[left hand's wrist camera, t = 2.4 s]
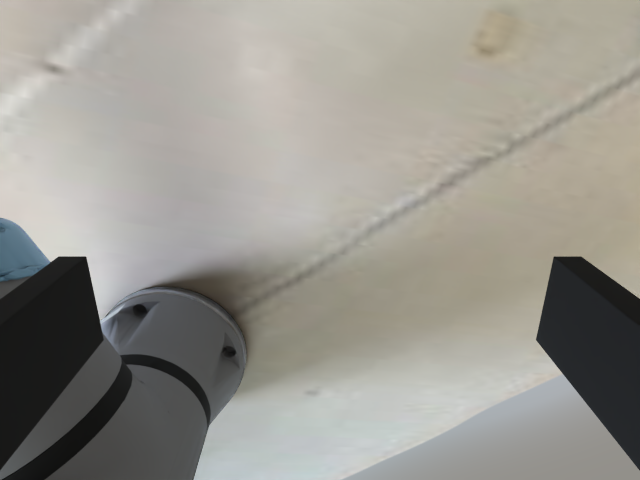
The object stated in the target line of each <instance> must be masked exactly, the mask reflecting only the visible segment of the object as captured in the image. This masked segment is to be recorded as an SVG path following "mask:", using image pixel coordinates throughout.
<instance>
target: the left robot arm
mask: <svg viewBox="0 0 640 480" xmlns="http://www.w3.org/2000/svg"><path fill="white" fill-rule="evenodd" d="M536 340H537V342H538V343H539V344H540V345H541V347H542V348H543V349H544V350H545V352H546V353H547V354H548V355H549V357H550V358H551V359H552V361H553V362H554V363H555V364H556V366H557V367H558V368H559V369H560V371H561V372H562V373H563V374H564V376H565V377H566V378H567V379H568V381H569V382H570V383H571V384H572V386H573V387H574V388H575V389H576V391H577V392H578V393H579V395H580V396H581V397H582V398H583V400H584V401H585V402H586V403H587V405H588V406H589V407H590V408H591V410H592V411H593V412H594V413H595V415H596V416H597V417H598V418H599V420H600V421H601V422H602V423H603V425H604V426H605V427H606V428H607V430H608V431H609V432H610V434H611V435H612V436H613V437H614V439H615V440H616V441H617V442H618V444H619V445H620V446H621V447H622V449H623V450H624V451H625V452H626V454H627V455H628V456H629V457H630V459H631V460H632V461H633V463H634V464H635V465H636V466H637V468H638V469H639V470H640V299H639V298H638V297H636V296H635V295H633V294H632V293H631V292H629V291H628V290H627V289H625V288H624V287H622V286H621V285H620V284H618V283H617V282H616V281H614V280H613V279H611V278H610V277H609V276H607V275H606V274H604V273H603V272H602V271H600V270H599V269H598V268H596V267H595V266H593V265H592V264H591V263H589V262H588V261H586V260H585V259H584V258H582V257H554V259H553V263H552V268H551V273H550V277H549V282H548V287H547V291H546V296H545V301H544V305H543V310H542V315H541V319H540V324H539V329H538V334H537V338H536ZM246 358H247V352H246V345H245V340H244V337H243V335H242V332H241V330H240V328H239V327H238V325H237V323H236V322H235V321H234V319H233V318H232V317H231V316H230V314H229V313H228V312H227V311H226V310H224V309H223V308H222V307H221V306H220V305H218V304H217V303H216V302H214V301H213V300H211V299H209V298H207V297H205V296H203V295H201V294H199V293H196V292H193V291H190V290H186V289H182V288H176V287H154V288H148V289H144V290H141V291H138V292H135V293H133V294H131V295H129V296H127V297H125V298H124V299H122V300H121V301H120V302H119V303H117V304H116V305H115V306H114V307H113V309H112V310H111V311H110V312H109V313H108V314H107V315H106V317H105V318H104V319H102V320H101V321H100V319H99V315H98V310H97V305H96V301H95V296H94V291H93V287H92V282H91V277H90V273H89V268H88V263H87V259H86V257H58V258H56V259H55V260H54V261H52V262H50V261H49V260H48V259H47V258H46V256H45V255H44V254H43V253H42V252H41V250H40V249H39V248H38V247H37V246H36V244H35V243H34V242H33V241H32V239H31V238H30V237H29V236H28V235H27V233H26V232H25V231H24V230H23V229H22V228H21V227H20V226H19V225H17V224H16V223H14V222H12V221H10V220H7V219H4V218H0V480H193V479H194V476H195V472H196V469H197V465H198V462H199V458H200V455H201V451H202V448H203V444H204V441H205V437H206V434H207V430H208V427H209V425H210V424H211V422H212V421H213V420H214V419H215V417H216V416H217V415H218V414H219V413H220V411H221V410H222V409H223V408H224V407H225V405H226V404H227V403H228V402H229V401H230V399H231V398H232V397H233V395H234V394H235V392H236V390H237V388H238V386H239V385H240V382H241V380H242V377H243V373H244V369H245V365H246Z"/></svg>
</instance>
